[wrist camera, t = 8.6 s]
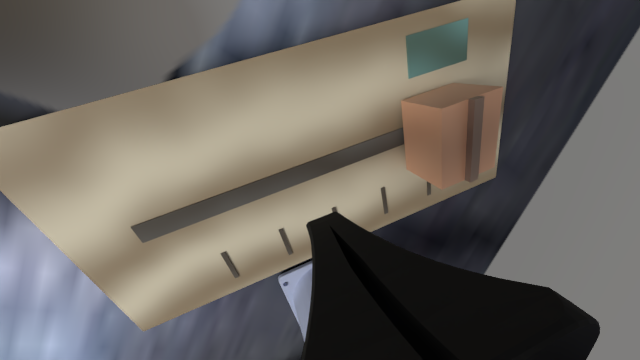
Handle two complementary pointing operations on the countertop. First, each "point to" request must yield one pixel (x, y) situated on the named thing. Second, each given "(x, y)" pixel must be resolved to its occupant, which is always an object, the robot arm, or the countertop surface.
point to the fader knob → (452, 132)
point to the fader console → (245, 158)
